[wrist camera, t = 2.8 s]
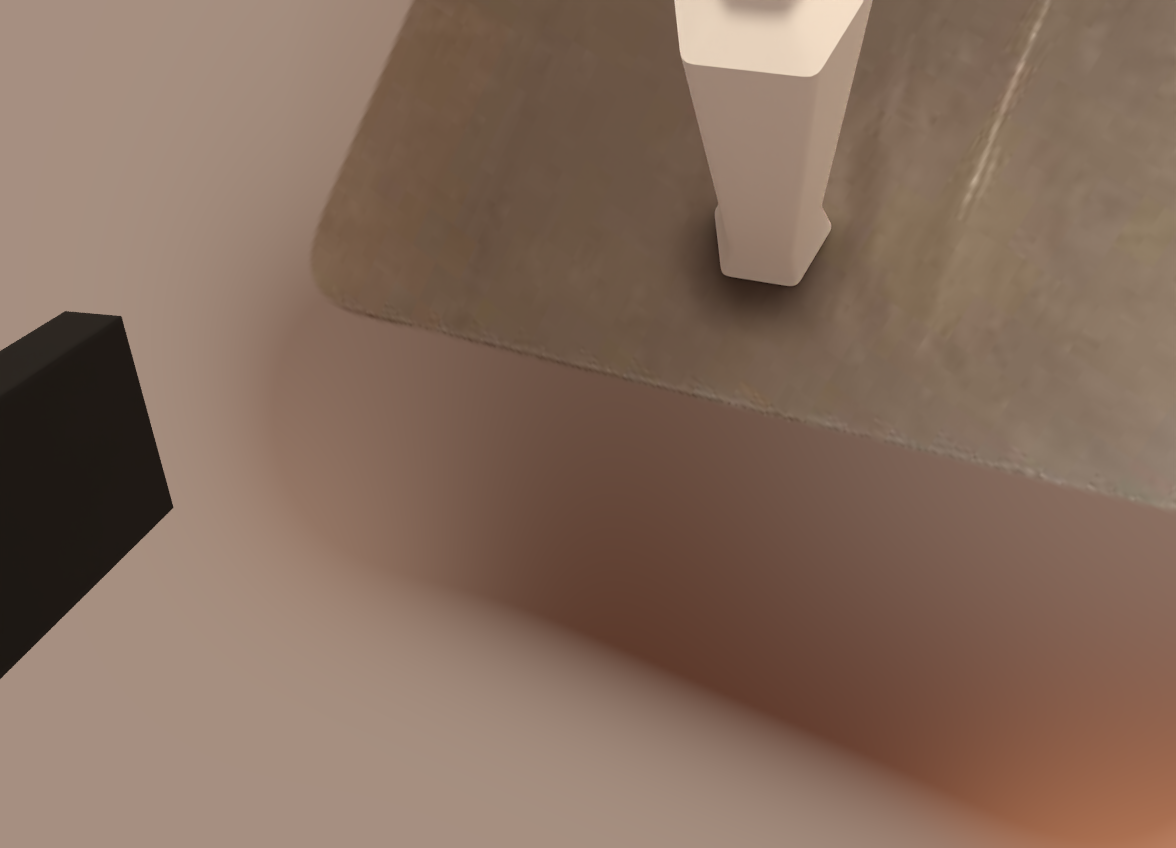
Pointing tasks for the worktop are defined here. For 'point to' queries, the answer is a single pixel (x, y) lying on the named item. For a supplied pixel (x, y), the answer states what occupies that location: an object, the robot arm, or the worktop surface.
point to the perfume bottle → (770, 121)
